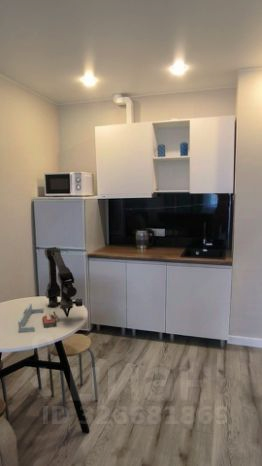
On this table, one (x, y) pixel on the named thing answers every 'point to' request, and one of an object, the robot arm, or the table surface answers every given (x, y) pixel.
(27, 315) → the mounting bracket
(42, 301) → the table surface
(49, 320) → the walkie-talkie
